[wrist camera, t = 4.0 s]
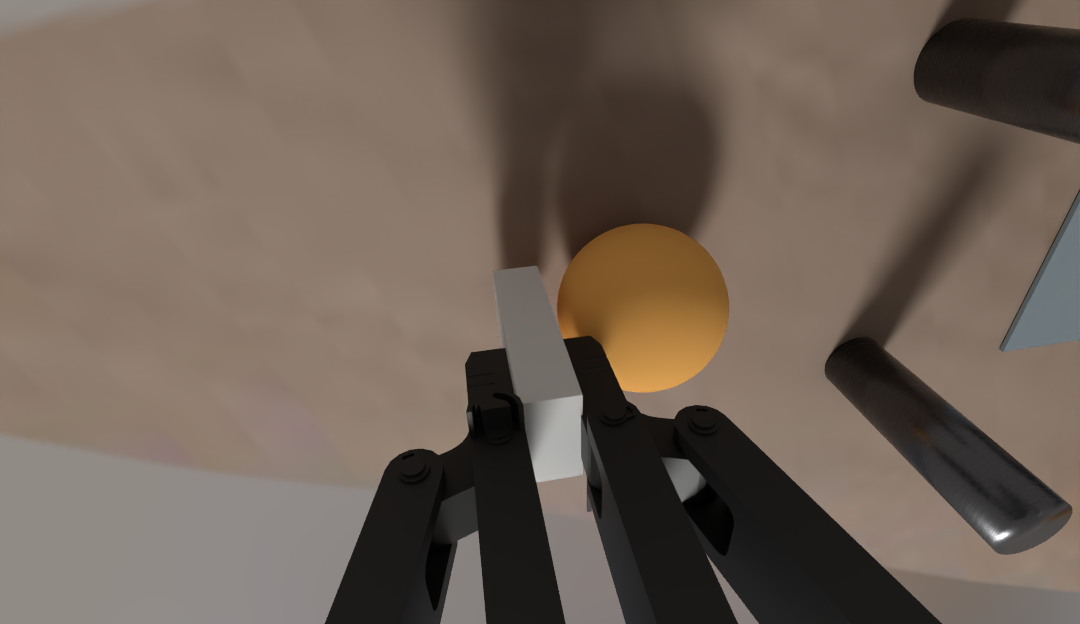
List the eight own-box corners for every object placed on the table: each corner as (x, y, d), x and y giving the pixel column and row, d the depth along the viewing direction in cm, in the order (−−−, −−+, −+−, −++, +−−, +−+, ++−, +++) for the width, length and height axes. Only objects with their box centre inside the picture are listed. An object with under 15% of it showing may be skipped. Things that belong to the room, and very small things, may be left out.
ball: (523, 221, 18) (659, 186, 20) (531, 358, 21) (649, 314, 23) (626, 296, 14) (784, 241, 16) (618, 453, 16) (752, 389, 19)
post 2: (886, 334, 25) (1086, 495, 17) (869, 379, 26) (1048, 546, 19) (832, 341, 24) (1013, 509, 17) (819, 387, 26) (980, 560, 18)
